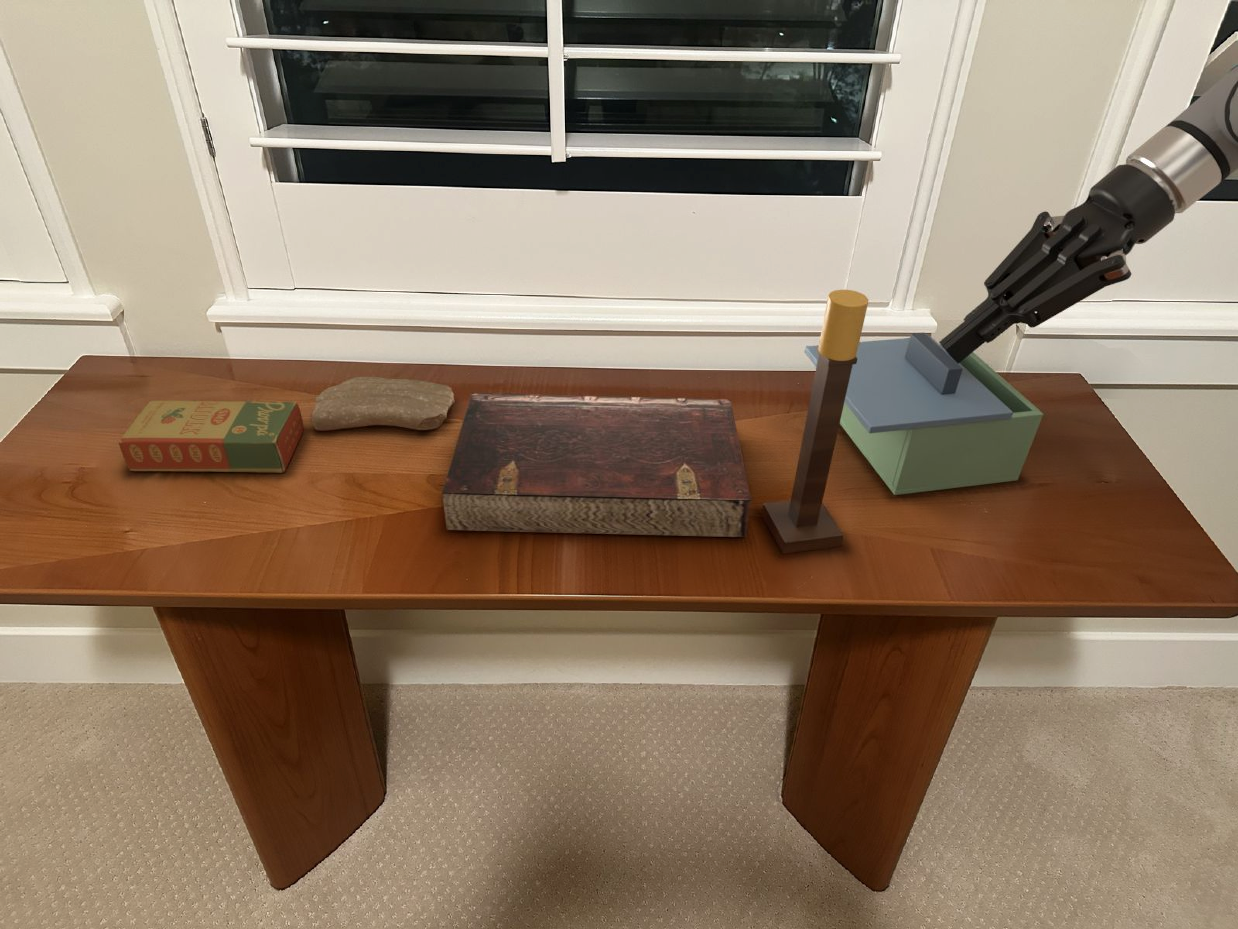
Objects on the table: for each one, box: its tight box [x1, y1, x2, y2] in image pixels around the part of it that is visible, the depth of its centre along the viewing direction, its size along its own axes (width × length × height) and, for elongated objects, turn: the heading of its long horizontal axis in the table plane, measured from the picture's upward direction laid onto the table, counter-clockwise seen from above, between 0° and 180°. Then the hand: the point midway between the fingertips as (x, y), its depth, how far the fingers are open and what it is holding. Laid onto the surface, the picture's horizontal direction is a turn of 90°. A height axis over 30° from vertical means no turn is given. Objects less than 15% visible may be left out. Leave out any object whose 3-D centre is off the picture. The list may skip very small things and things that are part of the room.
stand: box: [761, 346, 857, 555], centre depth 76 cm, size 6×6×20 cm
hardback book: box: [441, 392, 752, 538], centre depth 86 cm, size 29×19×5 cm, turn 90°
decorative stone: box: [310, 376, 455, 432], centre depth 96 cm, size 10×16×4 cm, turn 91°
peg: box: [818, 289, 869, 361], centre depth 69 cm, size 3×3×5 cm
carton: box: [118, 400, 305, 474], centre depth 89 cm, size 8×16×4 cm, turn 92°
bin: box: [839, 343, 1044, 496], centre depth 92 cm, size 16×15×9 cm
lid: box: [803, 332, 1013, 433], centre depth 88 cm, size 17×16×4 cm
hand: (948, 352), depth 88 cm, fingers closed
